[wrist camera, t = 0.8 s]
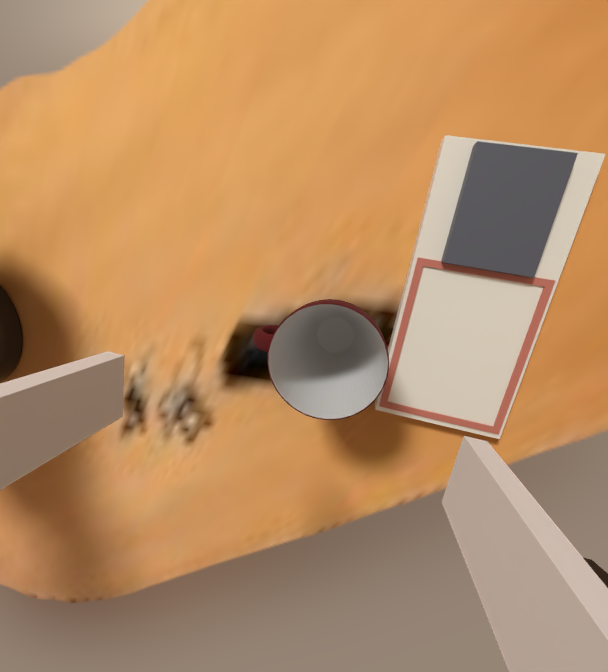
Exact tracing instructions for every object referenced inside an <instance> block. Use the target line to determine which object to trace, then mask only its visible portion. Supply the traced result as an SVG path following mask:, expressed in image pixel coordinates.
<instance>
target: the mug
mask: <svg viewBox="0 0 608 672" xmlns="http://www.w3.org/2000/svg"><path fill="white" fill-rule="evenodd" d="M253 342H254V345H255V346H256V347H257V348H258V349H260V350H262V351H265V352H268V369H269V374H270V377H271V380H272V383H273V385H274V387H275V389H276V390H277V392H278V393H279V395H280V396H281V397H282V398H283V399H284V401H286V402H287V403H288V404H289V405H290V406H291V407H293V408H294V409H296V410H297V411H299V412H301V413H303V414H305V415H307V416H310V417H313V418H317V419H323V420H337V419H343V418H348V417H350V416H353V415H356V414H358V413H360V412H361V411H363V410H364V409H366V408H367V407H369V406H370V405H371V404H372V403H373V402H374V401H375V400H376V399H377V397H378V396H379V395H380V393H381V391H382V390H383V388H384V385H385V383H386V380H387V376H388V371H389V354H388V349H387V346H386V343H385V340H384V337H383V335H382V333H381V331H380V329H379V327H378V326H377V324H376V323H375V321H374V320H373V319H372V318H371V317H370V316H369V315H368V314H367V313H366V312H364V311H363V310H362V309H360V308H359V307H357V306H355V305H353V304H351V303H348V302H345V301H340V300H332V299H328V300H319V301H314V302H311V303H308V304H306V305H304V306H302V307H300V308H298V309H297V310H295V311H294V312H293V313H291V314H290V315H289V316H287V317H286V318H285V319H284V320H283V321H282V322H281V324H280V325H279V326H276V325H268V326H261V327H259V328H257V329H256V330H255V332H254V335H253Z"/></svg>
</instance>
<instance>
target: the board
mask: <svg viewBox="0 0 608 672" xmlns="http://www.w3.org/2000/svg"><path fill="white" fill-rule="evenodd" d="M604 157H605V154H602V153H593V152H584V151H576V150H567V149H559V148H550V147H541V146H533V145H524V144H516V143H507V142H498V141H490V140H481V139H473V138H464V137H455V136H447V135H445V136H444V138H443V139H442V141H441V143H440V147H439V151H438V155H437V159H436V163H435V167H434V171H433V175H432V179H431V183H430V187H429V190H428V194H427V198H426V202H425V206H424V210H423V214H422V218H421V222H420V226H419V230H418V234H417V238H416V242H415V246H414V250H413V254H412V258H411V261H410V265H409V269H408V273H407V277H406V281H405V285H404V289H403V293H402V297H401V301H400V305H399V309H398V313H397V317H396V321H395V325H394V329H393V333H392V336H391V340H390V344H389V348H388V354H389V371H388V376H387V380H386V383H385V385H384V388H383V390H382V391H381V393H380V395H379V396H378V397H377V399H376V400H375V404H374V406H375V410H379V411H383V412H387V413H391V414H395V415H400V416H404V417H408V418H412V419H416V420H421V421H425V422H429V423H433V424H438V425H442V426H446V427H450V428H454V429H459V430H463V431H467V432H471V433H475V434H480V435H484V436H488V437H492V438H497V439H500V437H501V434H502V431H503V429H504V426H505V423H506V421H507V418H508V415H509V412H510V410H511V407H512V404H513V402H514V399H515V396H516V394H517V391H518V388H519V386H520V383H521V380H522V377H523V375H524V372H525V369H526V367H527V364H528V361H529V359H530V356H531V353H532V351H533V348H534V345H535V343H536V340H537V337H538V334H539V332H540V329H541V326H542V324H543V321H544V318H545V316H546V313H547V310H548V308H549V305H550V302H551V299H552V297H553V294H554V291H555V289H556V286H557V283H558V281H559V278H560V275H561V273H562V270H563V267H564V265H565V262H566V259H567V256H568V254H569V251H570V248H571V246H572V243H573V240H574V238H575V235H576V232H577V230H578V227H579V224H580V221H581V219H582V216H583V213H584V211H585V208H586V205H587V203H588V200H589V197H590V195H591V192H592V189H593V187H594V184H595V181H596V178H597V176H598V173H599V170H600V168H601V165H602V162H603V160H604Z"/></svg>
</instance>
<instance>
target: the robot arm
mask: <svg viewBox="0 0 608 672" xmlns="http://www.w3.org/2000/svg"><path fill="white" fill-rule="evenodd" d="M21 348H22V334H21V327H20V323H19V319H18V316H17V314H16V311H15V309H14V307H13V305H12V303H11V301H10V299H9V298H8V296H7V294H6V293H5V292H4V290H3V289H2V288H1V287H0V381H1V380H3V379H4V378H6V377H7V376H8V375H10V374H11V372H12V371H13V370H14V369H15V367H16V365H17V363H18V361H19V358H20V354H21ZM124 356H125V355H121V354H117V353H112V352H108V351H107V352H104V353H101V354H97V355H94V356H91V357H87V358H84V359H81V360H77V361H74V362H71V363H67V364H64V365H61V366H57V367H54V368H51V369H47V370H44V371H40V372H37V373H34V374H30V375H27V376H24V377H20V378H17V379H14V380H10V381H7V382H4V383H0V490H2V489H3V488H5V487H7V486H8V485H10V484H12V483H13V482H15V481H17V480H18V479H20V478H22V477H23V476H25V475H27V474H28V473H30V472H32V471H33V470H35V469H37V468H38V467H40V466H42V465H43V464H45V463H47V462H48V461H50V460H52V459H53V458H55V457H57V456H58V455H60V454H62V453H63V452H65V451H66V450H68V449H70V448H71V447H73V446H75V445H76V444H78V443H80V442H81V441H83V440H85V439H86V438H88V437H90V436H91V435H93V434H95V433H96V432H98V431H100V430H101V429H103V428H105V427H106V426H108V425H110V424H111V423H113V422H115V421H116V420H118V419H120V418H121V417H122V413H123V385H124ZM442 504H443V507H444V509H445V511H446V514H447V517H448V519H449V522H450V524H451V527H452V529H453V532H454V534H455V537H456V539H457V541H458V544H459V547H460V550H461V552H462V555H463V557H464V560H465V562H466V565H467V567H468V570H469V572H470V575H471V577H472V580H473V582H474V585H475V588H476V590H477V592H478V595H479V598H480V600H481V602H482V605H483V607H484V610H485V613H486V615H487V618H488V620H489V623H490V626H491V628H492V631H493V633H494V636H495V638H496V641H497V643H498V646H499V648H500V651H501V653H502V656H503V658H504V661H505V663H506V666H507V668H508V671H509V672H608V574H607V573H606V572H605V571H604V570H603V569H602V568H601V567H599V566H598V565H597V564H596V563H595V562H594V561H592V560H590V559H586V558H583V557H582V556H581V555H580V554H579V552H578V551H577V550H576V549H575V548H574V546H573V545H572V544H571V543H570V542H569V541H568V539H567V538H566V537H565V535H564V534H563V533H562V532H561V531H560V529H559V528H558V527H557V526H556V524H555V523H554V522H553V521H552V520H551V518H550V517H549V516H548V515H547V514H546V512H545V511H544V510H543V509H542V507H541V506H540V505H539V504H538V503H537V501H536V500H535V499H534V498H533V496H532V495H531V494H530V493H529V492H528V490H527V489H526V488H525V487H524V486H523V484H522V483H521V482H520V481H519V479H518V478H517V477H516V476H515V474H514V473H513V472H512V471H511V470H510V468H509V467H508V466H507V465H506V464H505V462H504V461H503V460H502V459H501V457H500V456H499V455H498V454H497V453H496V451H495V450H494V449H493V448H492V446H491V445H490V444H489V443H488V442H487V441H484V440H480V439H476V438H471V437H467V436H464V437H463V440H462V443H461V446H460V449H459V452H458V455H457V458H456V461H455V464H454V467H453V470H452V473H451V476H450V479H449V482H448V485H447V488H446V491H445V494H444V497H443V500H442Z"/></svg>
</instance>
